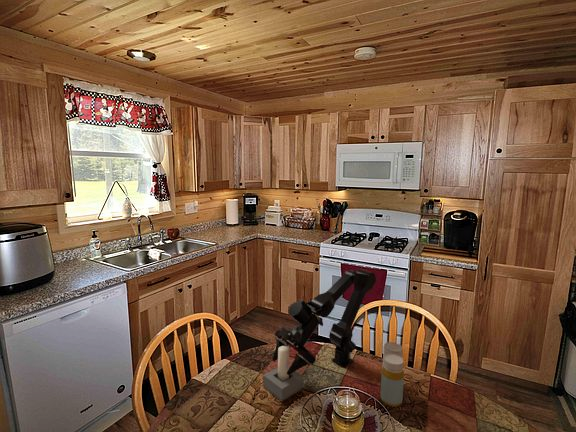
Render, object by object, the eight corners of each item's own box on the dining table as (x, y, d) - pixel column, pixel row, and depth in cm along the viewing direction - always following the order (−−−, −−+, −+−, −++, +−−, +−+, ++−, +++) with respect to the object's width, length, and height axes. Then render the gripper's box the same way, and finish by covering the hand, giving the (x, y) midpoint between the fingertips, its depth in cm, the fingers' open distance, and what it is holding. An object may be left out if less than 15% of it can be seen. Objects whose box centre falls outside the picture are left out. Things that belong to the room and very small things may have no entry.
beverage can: (404, 388, 114) (407, 348, 112) (391, 394, 110) (394, 353, 109) (390, 377, 119) (392, 340, 117) (377, 383, 116) (379, 344, 114)
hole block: (283, 375, 120) (284, 363, 119) (302, 388, 112) (303, 376, 112) (263, 386, 113) (263, 374, 112) (281, 401, 106) (282, 389, 105)
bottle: (403, 409, 103) (406, 366, 101) (381, 406, 105) (383, 363, 103) (400, 395, 110) (403, 354, 108) (379, 392, 111) (381, 352, 109)
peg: (286, 381, 115) (287, 345, 113) (290, 388, 111) (291, 351, 110) (276, 383, 114) (276, 346, 112) (279, 390, 110) (280, 352, 108)
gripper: (278, 308, 119) (252, 345, 115) (310, 328, 104) (281, 371, 99) (295, 323, 125) (271, 358, 120) (327, 344, 110) (301, 385, 105)
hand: (280, 367), depth 111 cm, fingers open, 9 cm apart
